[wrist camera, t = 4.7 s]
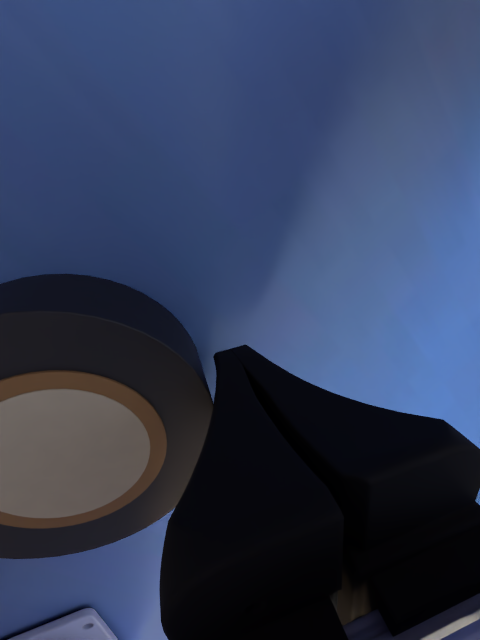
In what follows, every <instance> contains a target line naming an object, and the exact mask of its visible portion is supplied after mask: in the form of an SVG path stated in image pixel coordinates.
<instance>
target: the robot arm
mask: <svg viewBox="0 0 480 640" xmlns="http://www.w3.org/2000/svg"><path fill="white" fill-rule="evenodd" d="M213 357H214V362H215V366H216V391H215V398H214V405H213V411H212V416H211V420H210V424H209V428H208V431H207V435H206V438H205V441H204V444H203V447H202V450H201V453H200V456H199V458H198V461H197V463H196V465H195V468H194V470H193V473H192V475H191V477H190V480H189V482H188V484H187V486H186V488H185V490H184V492H183V494H182V496H181V498H180V500H179V502H178V504H177V506H176V508H175V510H174V512H173V513H172V515H171V517H170V519H169V521H168V525H167V530H166V536H165V541H164V547H163V554H162V561H161V571H160V608H161V623H162V627H163V631H164V633H165V635H166V636H167V638H168V640H480V505H479V504H478V503H476V502H475V500H476V497H477V494H478V491H479V488H480V449H479V448H478V447H477V446H475V445H474V444H473V443H472V442H471V441H469V440H468V439H467V438H466V437H464V436H463V435H462V434H461V433H460V432H458V431H457V430H456V429H455V428H453V427H452V426H451V425H450V424H448V423H447V422H445V421H444V420H442V419H436V418H430V417H424V416H419V415H413V414H407V413H402V412H397V411H393V410H389V409H384V408H380V407H376V406H372V405H369V404H365V403H362V402H358V401H355V400H352V399H349V398H346V397H343V396H340V395H337V394H334V393H332V392H329V391H327V390H324V389H322V388H320V387H317V386H315V385H313V384H310V383H308V382H306V381H304V380H302V379H300V378H298V377H296V376H294V375H293V374H291V373H289V372H287V371H285V370H284V369H282V368H281V367H279V366H277V365H276V364H274V363H272V362H271V361H269V360H268V359H266V358H265V357H263V356H262V355H260V354H259V353H257V352H256V351H255V350H253V349H252V348H250V347H249V346H247V345H243V346H239V347H235V348H232V349H228V350H224V351H221V352H217V353H215V355H214V356H213ZM7 640H118V639H117V637H116V636H115V635H114V634H113V632H112V631H111V630H110V628H109V627H108V626H107V625H106V623H105V622H104V621H103V620H102V618H101V617H100V616H99V615H98V613H97V612H96V611H95V610H94V609H93V608H85V609H82V610H79V611H77V612H74V613H72V614H69V615H67V616H64V617H62V618H59V619H57V620H54V621H52V622H49V623H47V624H44V625H42V626H39V627H37V628H34V629H32V630H30V631H27V632H25V633H22V634H20V635H17V636H15V637H12V638H10V639H7Z"/></svg>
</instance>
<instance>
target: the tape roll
mask: <svg viewBox="0 0 480 640" xmlns="http://www.w3.org/2000/svg"><path fill="white" fill-rule="evenodd" d="M213 405H214V404H213V401H212V398H211V394H210V391H209V388H208V385H207V382H206V378H205V375H204V372H203V369H202V365H201V362H200V359H199V356H198V353H197V350H196V347H195V345H194V343H193V341H192V339H191V337H190V335H189V334H188V333H187V331H186V330H185V328H184V327H183V326H182V324H181V323H180V322H179V321H178V320H177V319H176V318H175V317H174V316H173V315H172V314H171V313H170V312H169V311H168V310H167V309H165V308H164V307H163V306H162V305H160V304H159V303H158V302H156V301H155V300H153V299H151V298H150V297H148V296H147V295H145V294H143V293H141V292H139V291H137V290H135V289H132V288H130V287H128V286H126V285H122V284H119V283H116V282H113V281H110V280H106V279H101V278H96V277H91V276H85V275H73V274H48V275H39V276H32V277H25V278H21V279H17V280H13V281H10V282H6V283H2V284H0V558H9V559H31V558H46V557H56V556H62V555H68V554H74V553H79V552H83V551H87V550H91V549H95V548H98V547H101V546H104V545H107V544H110V543H113V542H116V541H118V540H121V539H123V538H126V537H128V536H130V535H132V534H134V533H136V532H138V531H140V530H142V529H144V528H146V527H148V526H149V525H151V524H153V523H154V522H156V521H157V520H159V519H161V518H162V517H163V516H165V515H166V514H167V513H169V512H170V511H171V510H173V509H174V508H175V507H176V506H177V504H178V502H179V500H180V498H181V496H182V494H183V492H184V490H185V488H186V486H187V484H188V482H189V480H190V477H191V475H192V473H193V470H194V468H195V465H196V463H197V461H198V458H199V456H200V453H201V450H202V447H203V444H204V441H205V438H206V435H207V431H208V428H209V424H210V420H211V416H212V411H213Z"/></svg>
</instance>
